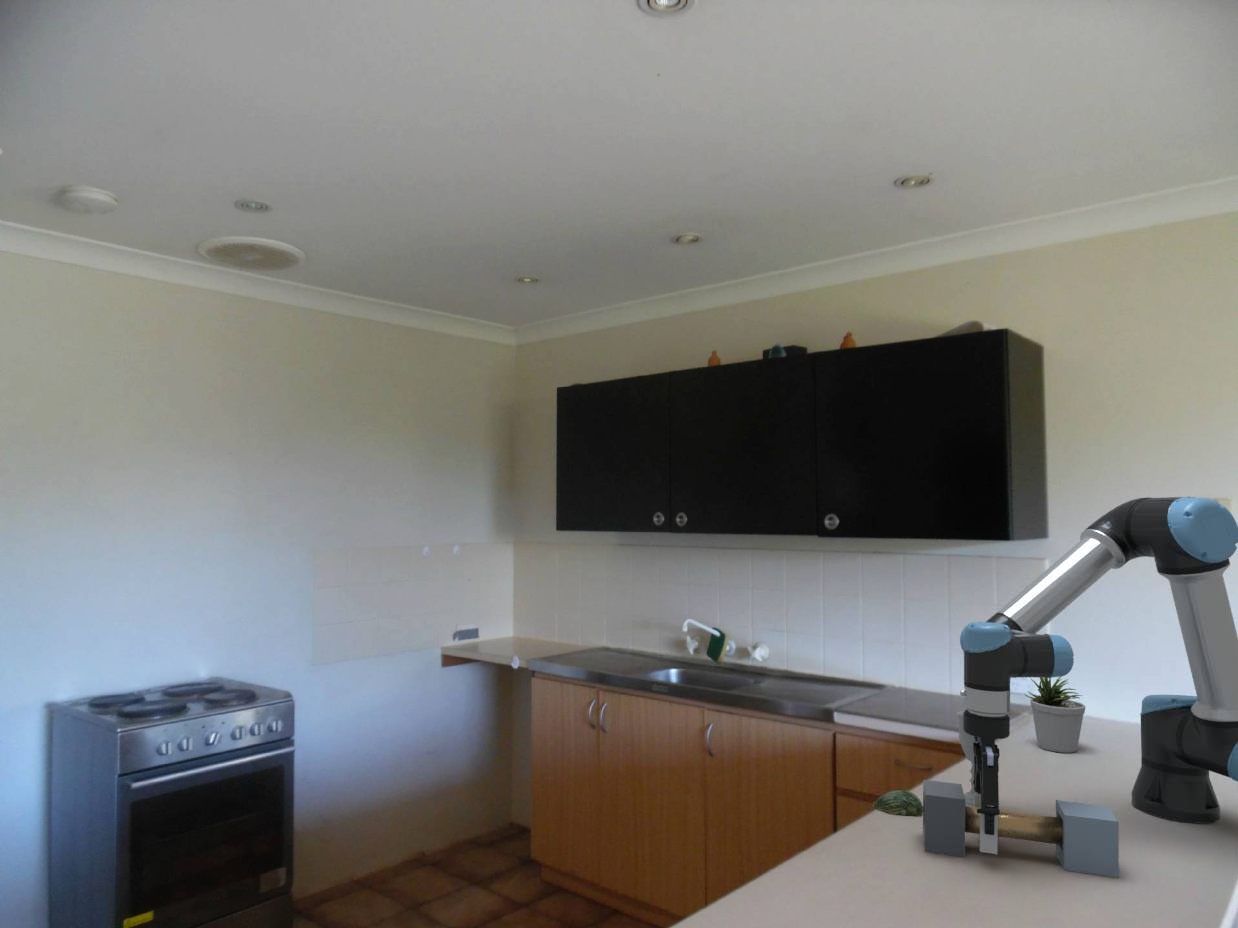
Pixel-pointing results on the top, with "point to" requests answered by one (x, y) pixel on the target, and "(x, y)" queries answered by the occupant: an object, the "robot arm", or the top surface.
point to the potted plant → (1056, 717)
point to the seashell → (899, 803)
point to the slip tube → (1020, 826)
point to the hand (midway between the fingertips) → (985, 841)
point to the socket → (943, 818)
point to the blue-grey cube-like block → (1088, 839)
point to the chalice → (968, 750)
